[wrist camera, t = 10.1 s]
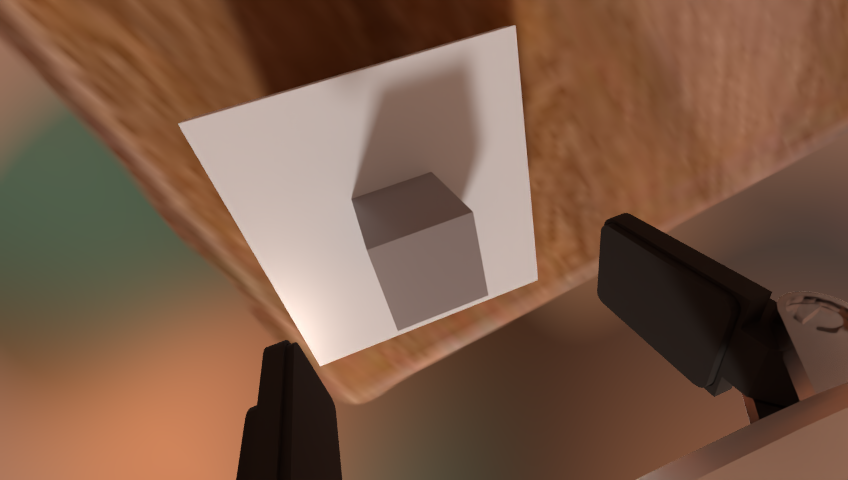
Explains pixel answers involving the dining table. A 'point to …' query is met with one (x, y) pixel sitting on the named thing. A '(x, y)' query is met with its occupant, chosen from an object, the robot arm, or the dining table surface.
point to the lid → (382, 190)
